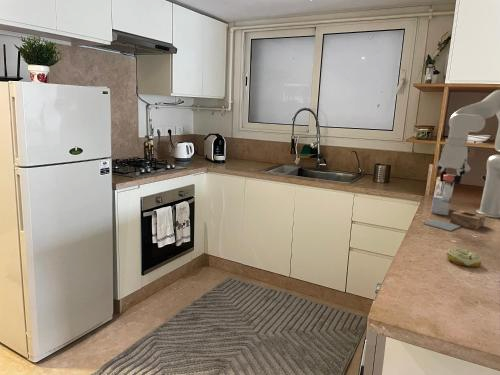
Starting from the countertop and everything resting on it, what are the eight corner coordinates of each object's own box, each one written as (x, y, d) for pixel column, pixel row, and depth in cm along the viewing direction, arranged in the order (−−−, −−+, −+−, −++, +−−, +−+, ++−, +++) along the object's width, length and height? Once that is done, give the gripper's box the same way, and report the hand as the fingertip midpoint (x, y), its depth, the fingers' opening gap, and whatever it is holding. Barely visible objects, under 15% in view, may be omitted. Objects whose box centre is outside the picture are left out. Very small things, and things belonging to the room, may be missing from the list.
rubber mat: (434, 220, 183) (434, 219, 183) (461, 226, 175) (461, 225, 175) (423, 224, 175) (423, 223, 175) (450, 231, 167) (450, 230, 167)
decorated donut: (471, 271, 126) (473, 260, 125) (440, 259, 134) (441, 249, 133) (486, 265, 131) (488, 255, 131) (455, 254, 140) (457, 244, 139)
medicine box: (447, 213, 196) (450, 197, 195) (447, 216, 192) (450, 199, 191) (430, 211, 200) (433, 195, 198) (430, 213, 196) (433, 197, 194)
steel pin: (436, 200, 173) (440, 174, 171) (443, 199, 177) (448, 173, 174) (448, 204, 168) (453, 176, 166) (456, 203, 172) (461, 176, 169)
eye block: (458, 219, 187) (460, 209, 186) (483, 225, 179) (485, 215, 178) (449, 223, 180) (451, 213, 179) (475, 229, 172) (477, 219, 171)
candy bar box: (431, 205, 213) (436, 176, 210) (441, 206, 212) (446, 177, 209) (437, 210, 203) (442, 180, 199) (447, 211, 202) (452, 181, 198)
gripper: (433, 140, 172) (427, 179, 176) (472, 145, 158) (463, 187, 161) (443, 140, 176) (436, 178, 180) (481, 145, 162) (473, 186, 165)
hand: (449, 182), depth 171 cm, fingers closed on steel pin, 6 cm apart
